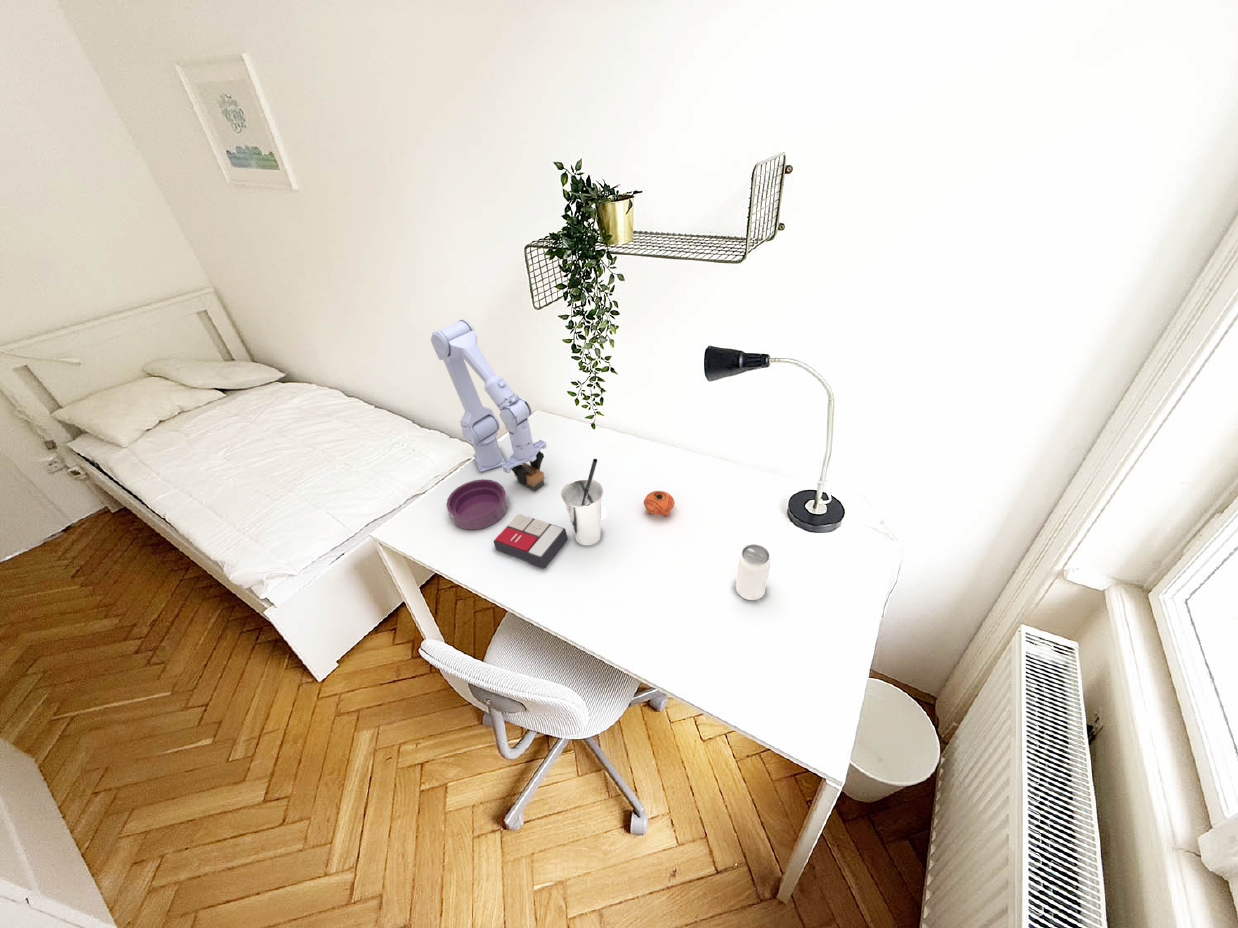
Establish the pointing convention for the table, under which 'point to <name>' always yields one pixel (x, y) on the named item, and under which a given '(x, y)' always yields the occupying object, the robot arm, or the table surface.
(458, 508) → the bowl
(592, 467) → the metal cup with straw
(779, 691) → the table surface
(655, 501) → the pot
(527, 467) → the scrub brush
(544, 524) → the calculator
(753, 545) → the can
